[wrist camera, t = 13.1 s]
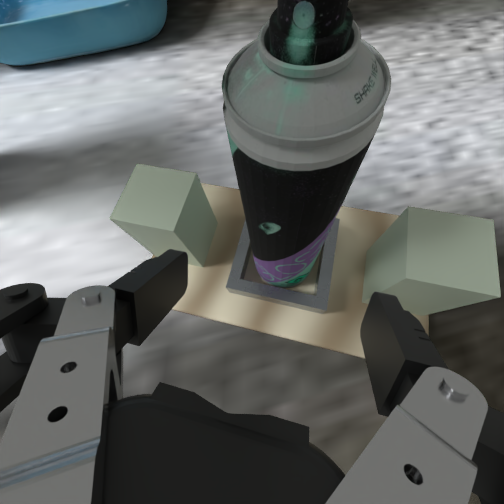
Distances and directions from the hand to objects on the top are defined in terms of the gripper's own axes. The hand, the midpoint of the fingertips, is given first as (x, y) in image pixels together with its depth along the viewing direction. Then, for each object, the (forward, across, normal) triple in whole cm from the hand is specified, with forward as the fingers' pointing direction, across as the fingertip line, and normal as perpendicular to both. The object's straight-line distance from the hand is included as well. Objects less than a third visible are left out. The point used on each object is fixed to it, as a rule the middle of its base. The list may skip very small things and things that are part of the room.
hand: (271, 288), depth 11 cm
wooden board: (+14, 0, +5) cm, 15 cm away
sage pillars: (+13, 0, +4) cm, 14 cm away
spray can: (+13, 0, +5) cm, 14 cm away
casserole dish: (+39, +42, -20) cm, 61 cm away
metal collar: (+13, 0, +4) cm, 14 cm away
